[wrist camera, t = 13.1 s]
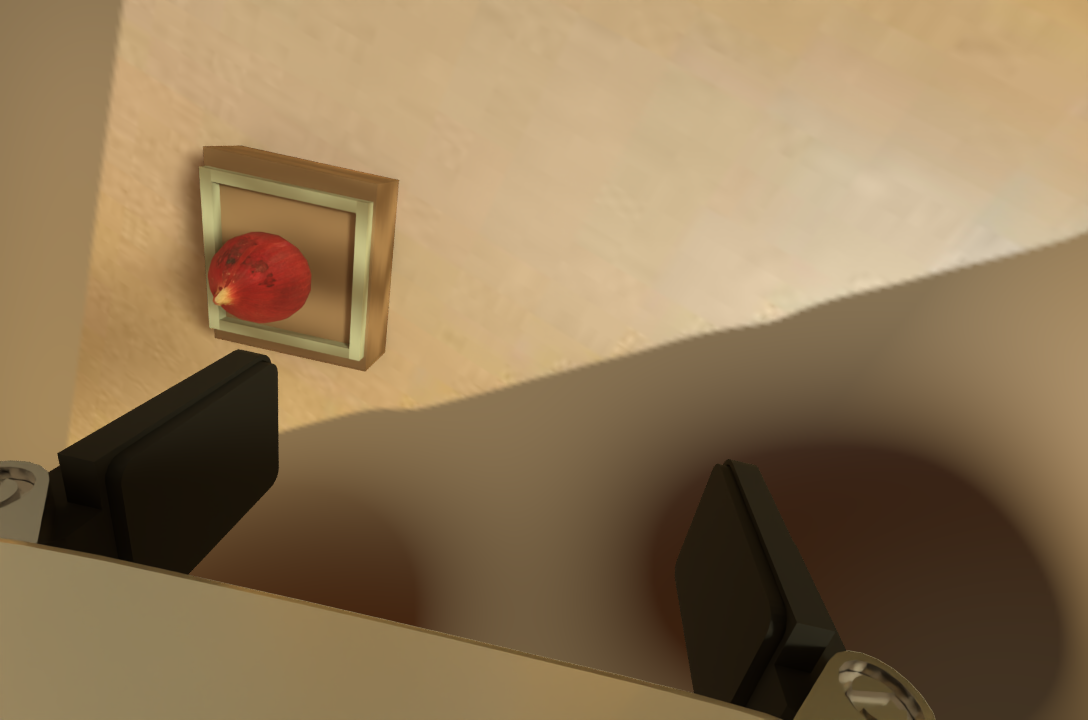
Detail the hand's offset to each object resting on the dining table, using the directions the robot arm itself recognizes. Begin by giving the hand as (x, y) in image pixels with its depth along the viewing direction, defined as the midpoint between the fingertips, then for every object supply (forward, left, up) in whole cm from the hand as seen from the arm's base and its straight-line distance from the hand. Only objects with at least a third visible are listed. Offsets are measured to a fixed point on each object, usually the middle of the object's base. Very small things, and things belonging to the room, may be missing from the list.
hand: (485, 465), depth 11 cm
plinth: (+6, -19, -30) cm, 36 cm away
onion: (+6, -19, -26) cm, 33 cm away
